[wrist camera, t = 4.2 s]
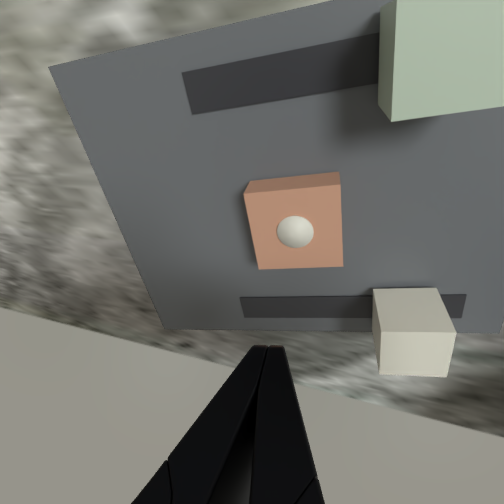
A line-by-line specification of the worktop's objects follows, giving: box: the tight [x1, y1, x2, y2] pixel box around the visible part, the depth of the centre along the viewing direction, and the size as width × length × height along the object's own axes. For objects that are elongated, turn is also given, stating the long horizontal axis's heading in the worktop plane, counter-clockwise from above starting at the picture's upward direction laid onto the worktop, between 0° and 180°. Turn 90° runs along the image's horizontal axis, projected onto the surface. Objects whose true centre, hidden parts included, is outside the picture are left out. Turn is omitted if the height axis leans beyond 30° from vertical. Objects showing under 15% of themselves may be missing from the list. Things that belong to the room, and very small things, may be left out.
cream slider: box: [372, 288, 457, 377], centre depth 16 cm, size 3×3×3 cm
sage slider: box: [378, 0, 504, 122], centre depth 10 cm, size 3×3×3 cm
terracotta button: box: [244, 172, 343, 270], centre depth 15 cm, size 4×4×2 cm
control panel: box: [48, 0, 504, 333], centre depth 16 cm, size 20×16×2 cm
